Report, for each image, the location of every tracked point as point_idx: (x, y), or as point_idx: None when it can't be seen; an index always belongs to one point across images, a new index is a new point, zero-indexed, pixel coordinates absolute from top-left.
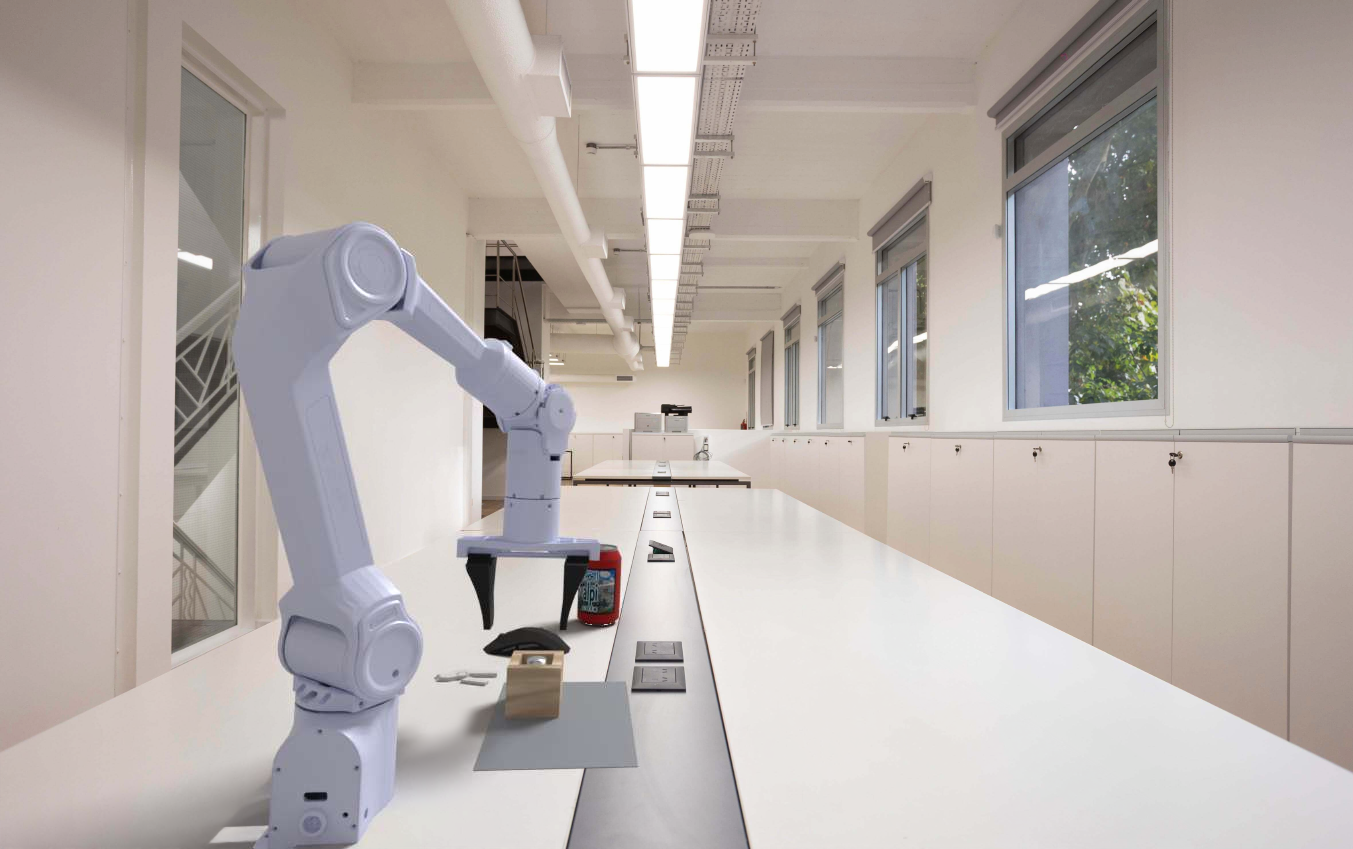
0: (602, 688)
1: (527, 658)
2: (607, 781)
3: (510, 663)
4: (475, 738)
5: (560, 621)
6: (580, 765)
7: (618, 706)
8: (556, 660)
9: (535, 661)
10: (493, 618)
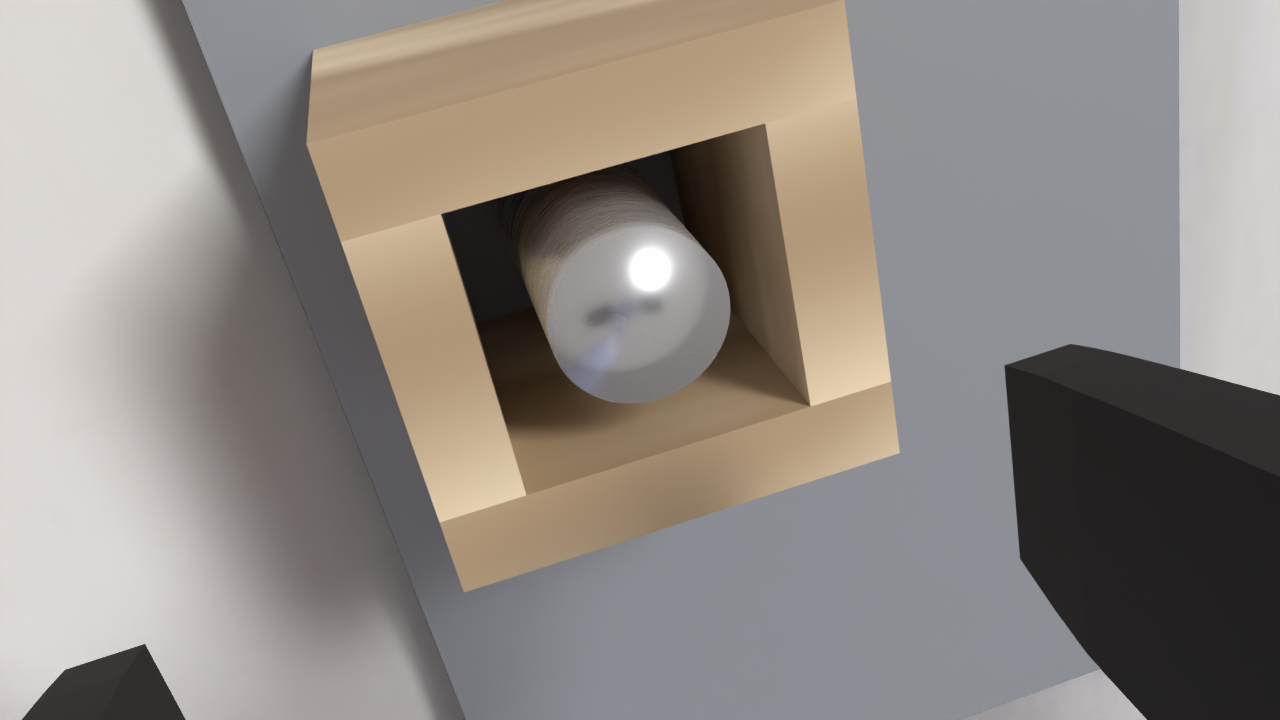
0: None
1: (549, 331)
2: None
3: (446, 494)
4: (335, 551)
5: (1091, 651)
6: (955, 703)
7: (1109, 35)
8: (826, 296)
9: (649, 380)
10: (138, 711)
